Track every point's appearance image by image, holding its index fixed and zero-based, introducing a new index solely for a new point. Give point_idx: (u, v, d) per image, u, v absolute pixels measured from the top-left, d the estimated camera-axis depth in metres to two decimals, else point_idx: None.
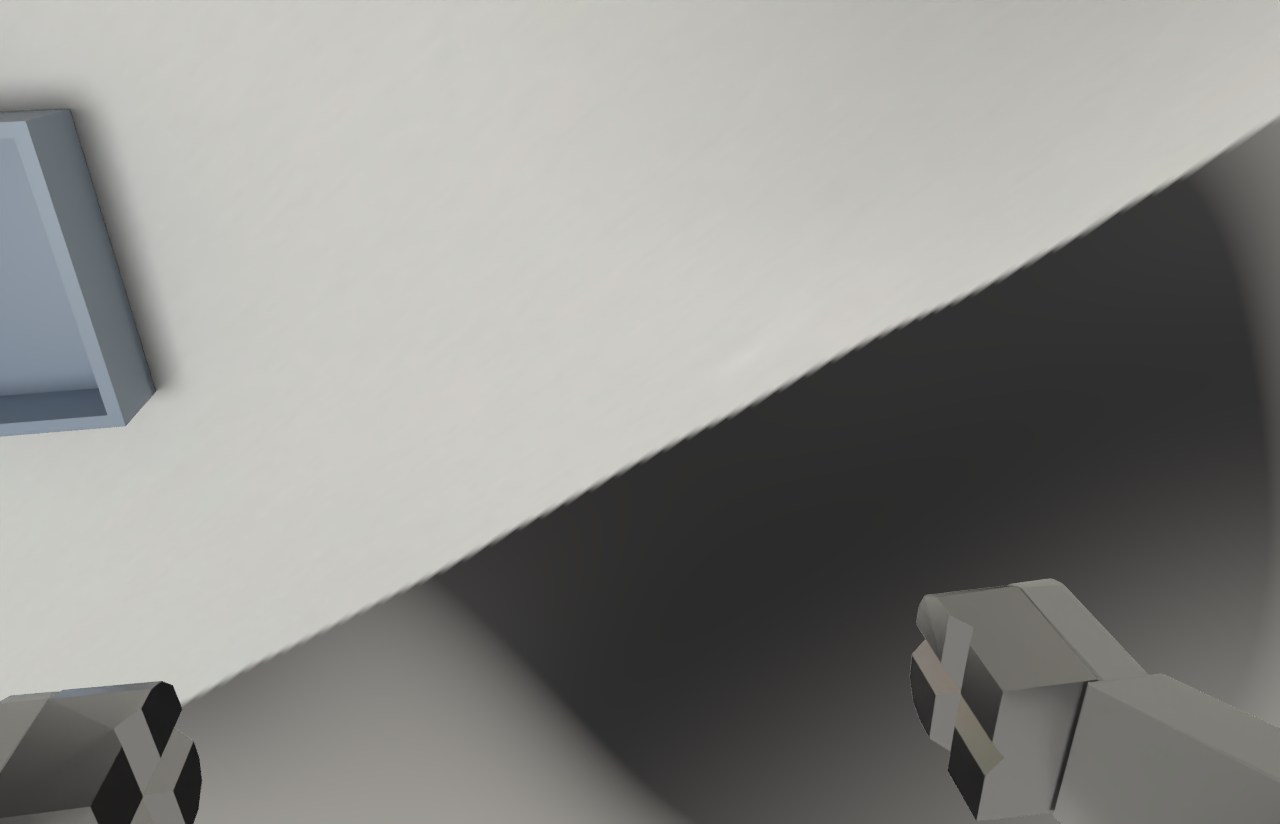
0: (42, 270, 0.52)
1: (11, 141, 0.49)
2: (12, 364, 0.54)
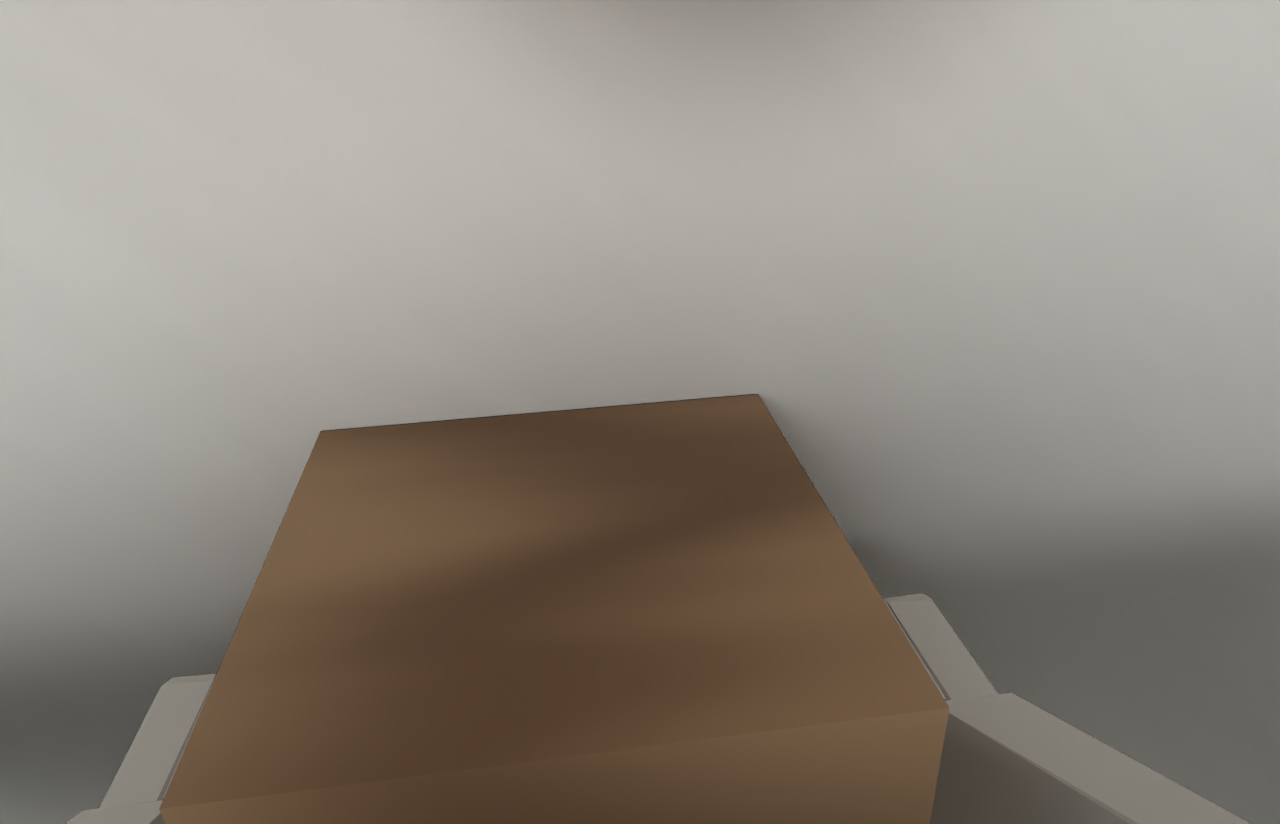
0: None
1: None
2: None
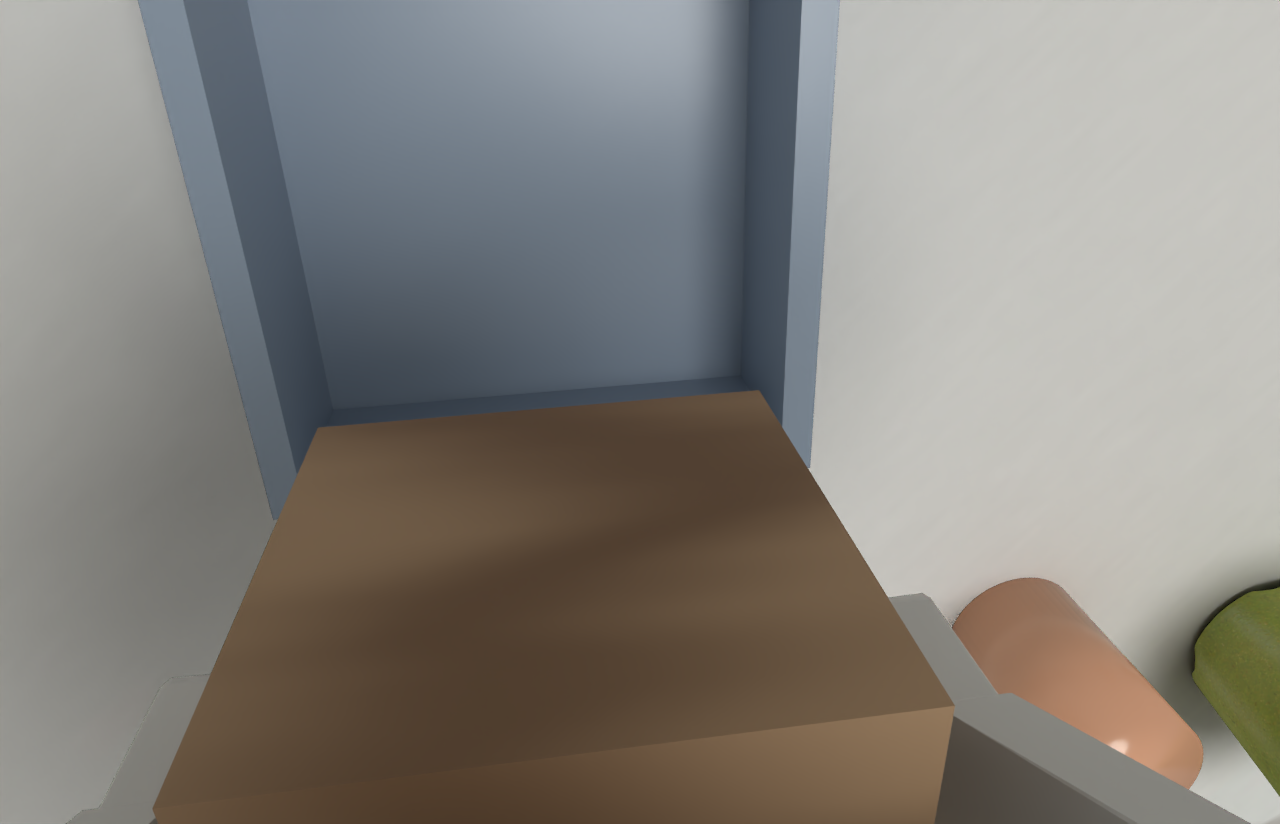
0: (402, 106, 0.22)
1: (417, 379, 0.25)
2: None
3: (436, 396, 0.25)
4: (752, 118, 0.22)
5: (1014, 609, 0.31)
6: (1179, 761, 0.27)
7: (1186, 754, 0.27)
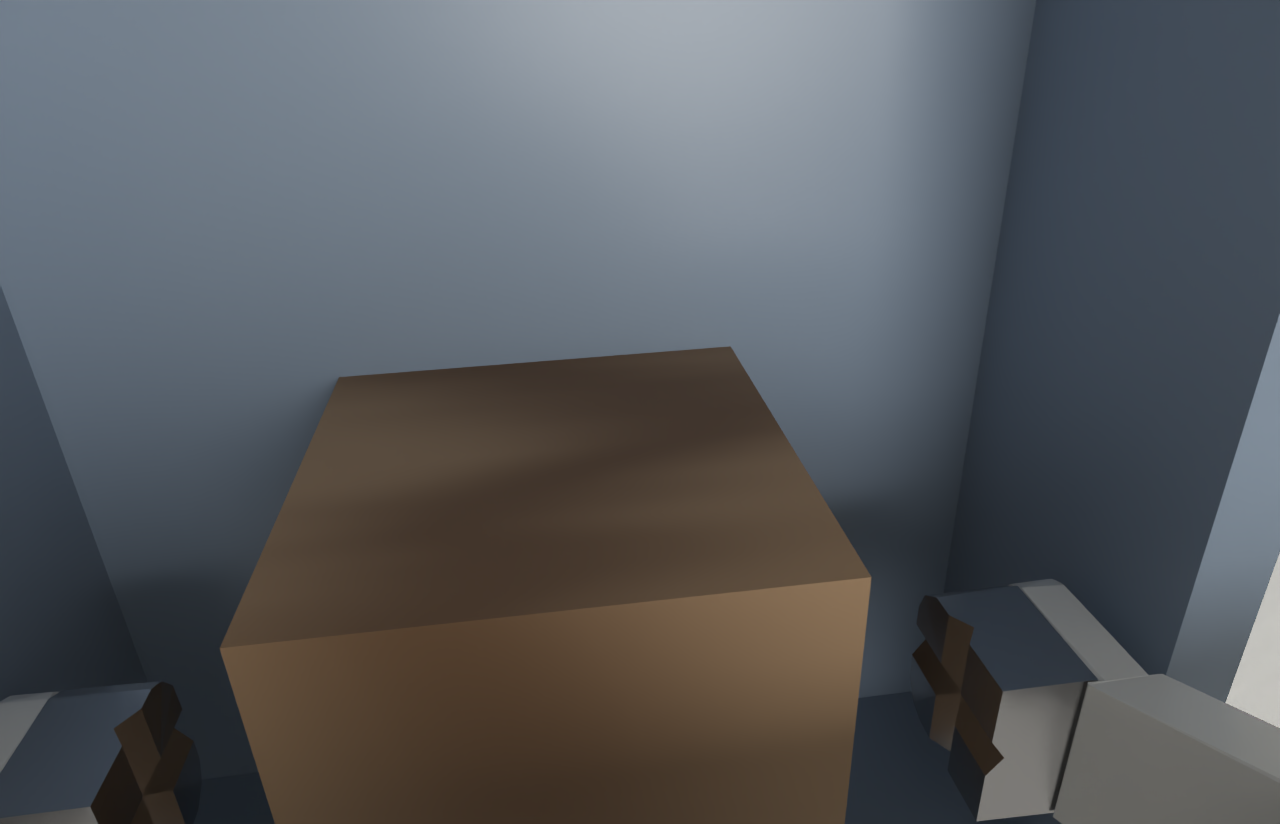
0: (286, 251, 0.10)
1: None
2: None
3: None
4: (1020, 268, 0.11)
5: None
6: None
7: None
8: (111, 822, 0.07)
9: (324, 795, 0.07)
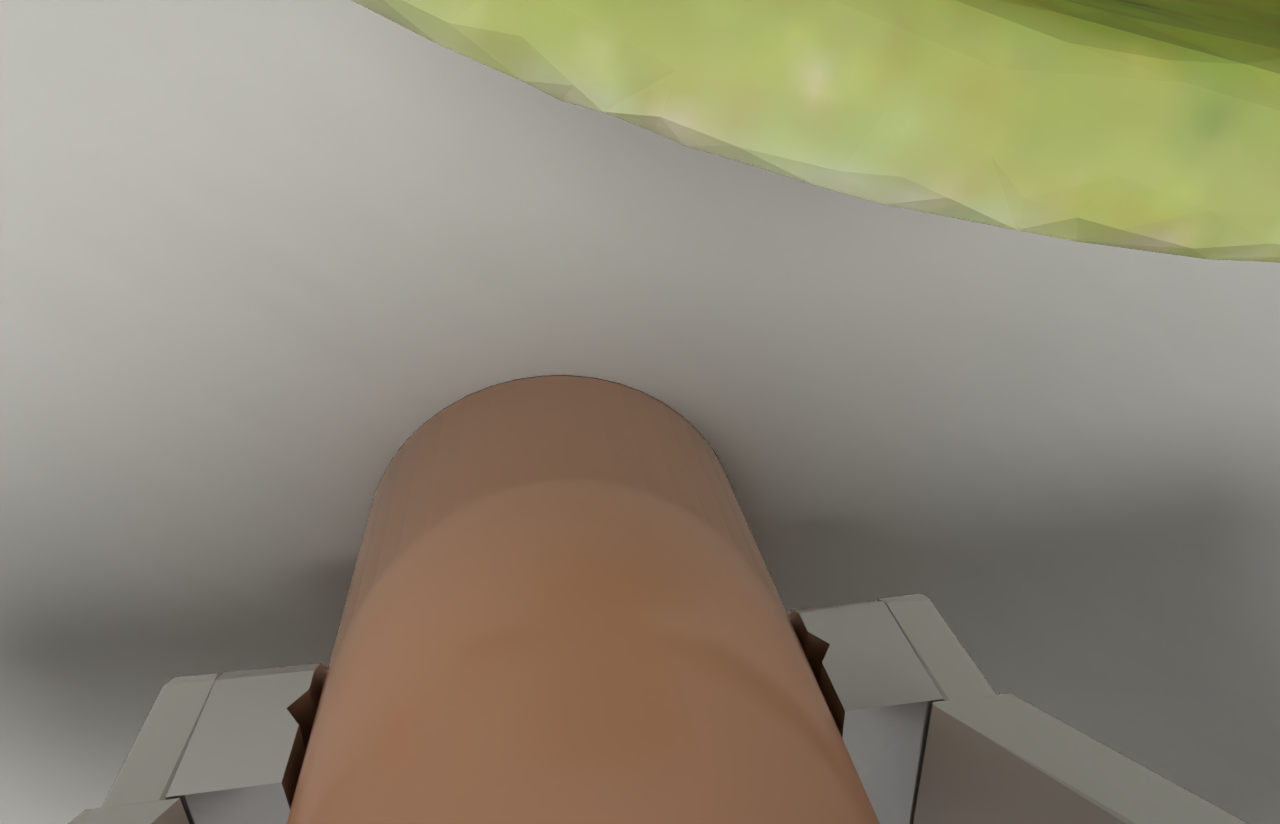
0: None
1: None
2: None
3: None
4: None
5: None
6: None
7: None
8: None
9: None
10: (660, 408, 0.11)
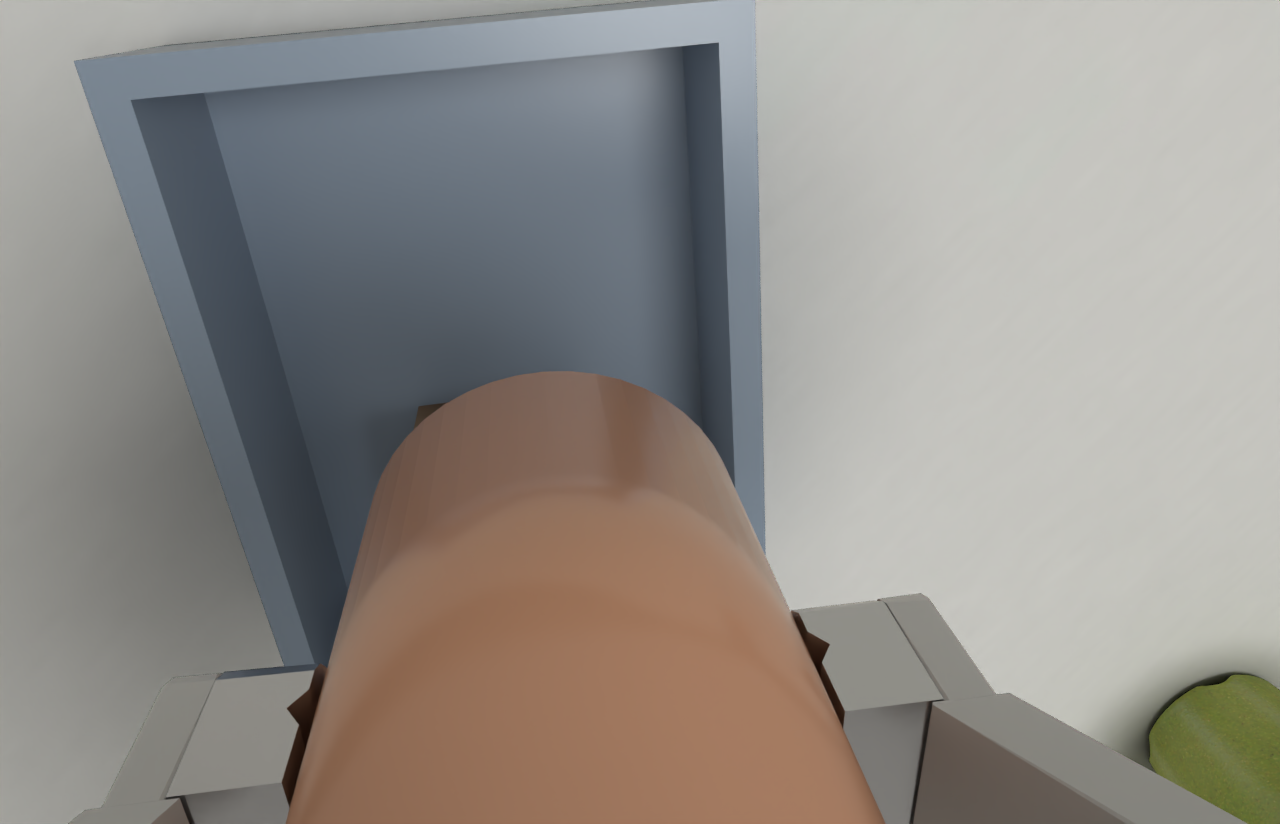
0: (396, 357, 0.25)
1: None
2: (489, 136, 0.23)
3: None
4: (702, 346, 0.26)
5: None
6: None
7: None
8: None
9: None
10: (661, 404, 0.11)
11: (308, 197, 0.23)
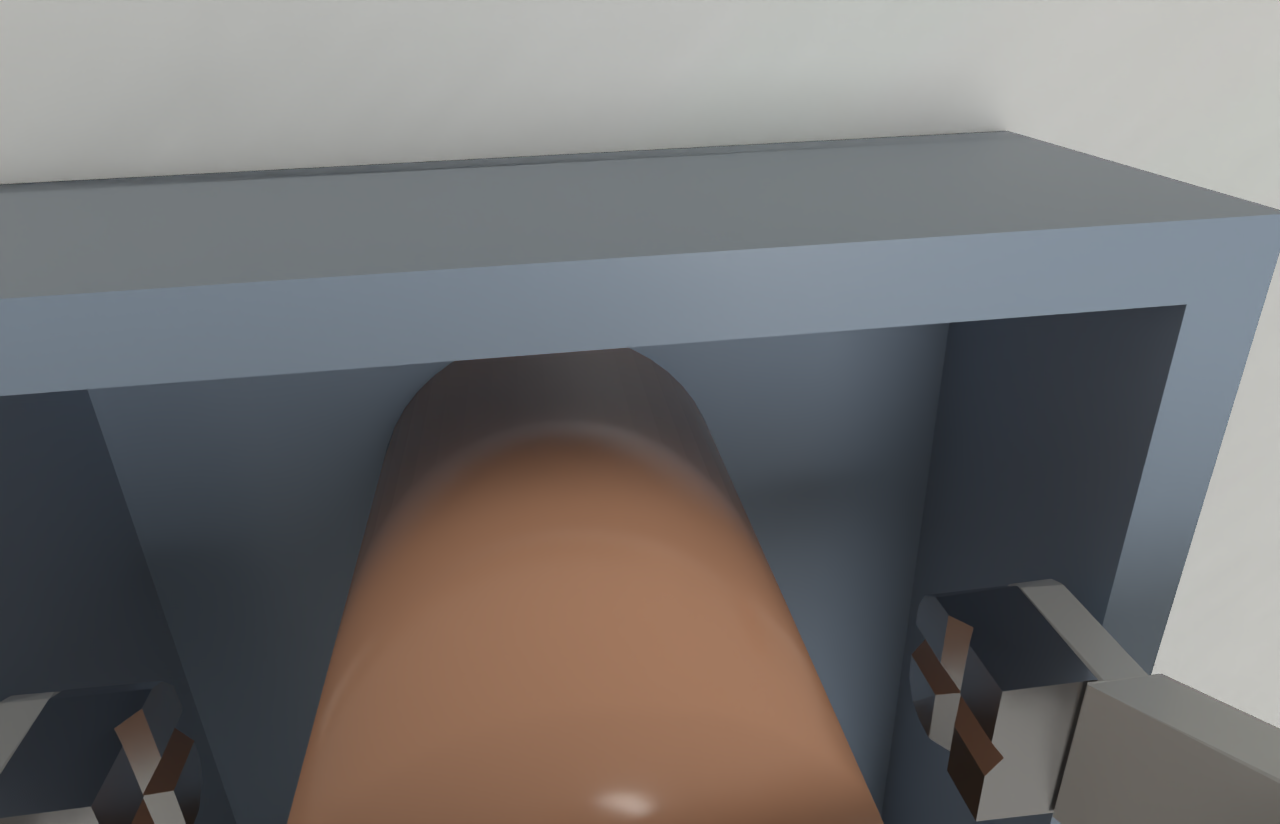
0: None
1: None
2: None
3: None
4: None
5: None
6: (512, 807, 0.06)
7: (473, 794, 0.06)
8: (112, 822, 0.07)
9: None
10: (647, 363, 0.12)
11: (255, 462, 0.12)
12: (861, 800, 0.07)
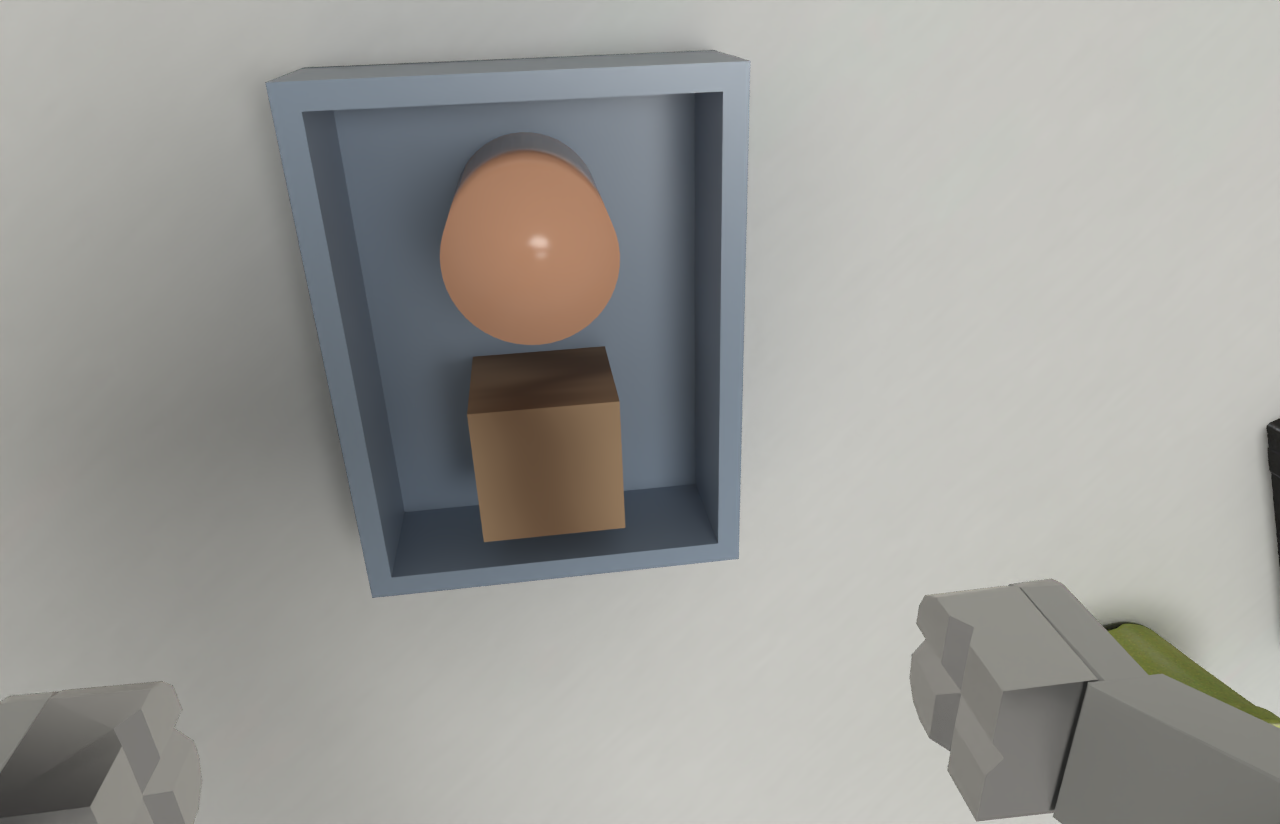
0: (459, 316, 0.32)
1: (464, 490, 0.35)
2: None
3: (477, 502, 0.35)
4: (698, 320, 0.33)
5: None
6: (508, 203, 0.24)
7: (498, 197, 0.23)
8: (111, 822, 0.07)
9: (486, 457, 0.29)
10: (565, 145, 0.30)
11: (403, 188, 0.30)
12: (604, 213, 0.24)
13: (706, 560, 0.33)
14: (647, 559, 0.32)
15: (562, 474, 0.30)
